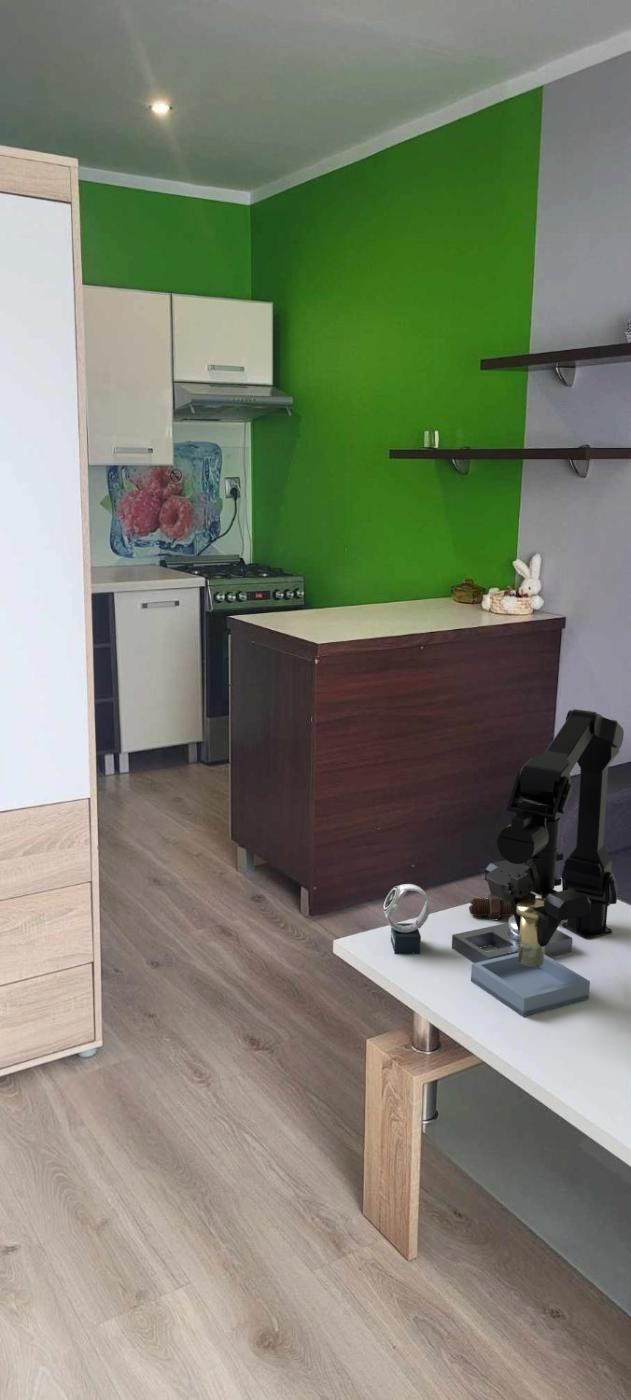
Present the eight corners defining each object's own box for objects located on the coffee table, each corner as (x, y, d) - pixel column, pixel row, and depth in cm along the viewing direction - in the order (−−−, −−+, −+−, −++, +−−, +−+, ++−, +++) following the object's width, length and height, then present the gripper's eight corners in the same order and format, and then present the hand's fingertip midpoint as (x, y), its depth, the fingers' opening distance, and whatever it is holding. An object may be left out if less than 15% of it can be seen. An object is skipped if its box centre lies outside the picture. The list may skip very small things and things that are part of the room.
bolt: (468, 924, 198) (550, 925, 197) (471, 920, 193) (554, 921, 192) (467, 892, 200) (548, 893, 199) (470, 888, 195) (552, 889, 194)
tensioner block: (533, 930, 191) (535, 901, 190) (571, 951, 183) (573, 921, 181) (451, 948, 183) (453, 918, 182) (487, 971, 174) (489, 940, 173)
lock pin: (532, 950, 171) (536, 897, 169) (555, 964, 166) (559, 909, 164) (506, 957, 168) (509, 902, 166) (528, 971, 164) (532, 915, 162)
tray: (533, 965, 177) (535, 948, 176) (588, 999, 166) (590, 981, 165) (470, 981, 171) (471, 963, 170) (523, 1016, 159) (524, 998, 159)
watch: (379, 940, 185) (381, 880, 183) (425, 940, 186) (428, 880, 184) (383, 953, 180) (385, 892, 178) (430, 953, 180) (433, 892, 178)
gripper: (460, 834, 168) (455, 926, 171) (538, 872, 152) (531, 974, 155) (516, 825, 173) (510, 915, 176) (597, 861, 157) (589, 959, 160)
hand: (532, 939), depth 167 cm, fingers closed on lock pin, 5 cm apart
